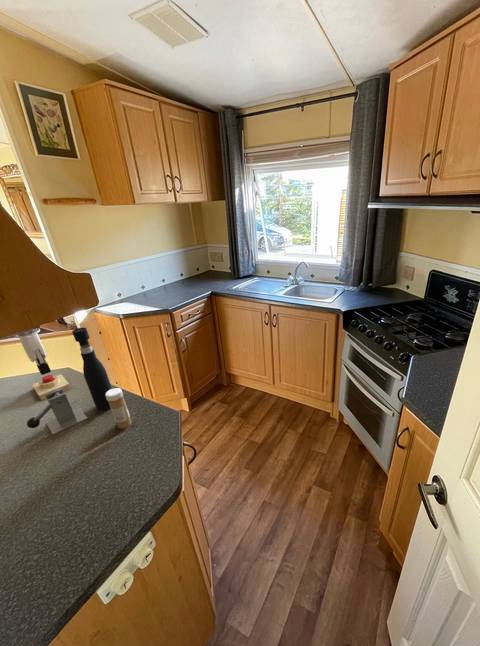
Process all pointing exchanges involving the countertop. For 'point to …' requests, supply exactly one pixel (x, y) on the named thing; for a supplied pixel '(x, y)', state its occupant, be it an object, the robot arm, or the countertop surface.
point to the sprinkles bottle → (118, 407)
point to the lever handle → (36, 421)
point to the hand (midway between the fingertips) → (46, 372)
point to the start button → (48, 379)
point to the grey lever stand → (63, 412)
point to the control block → (51, 386)
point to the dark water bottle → (93, 371)
